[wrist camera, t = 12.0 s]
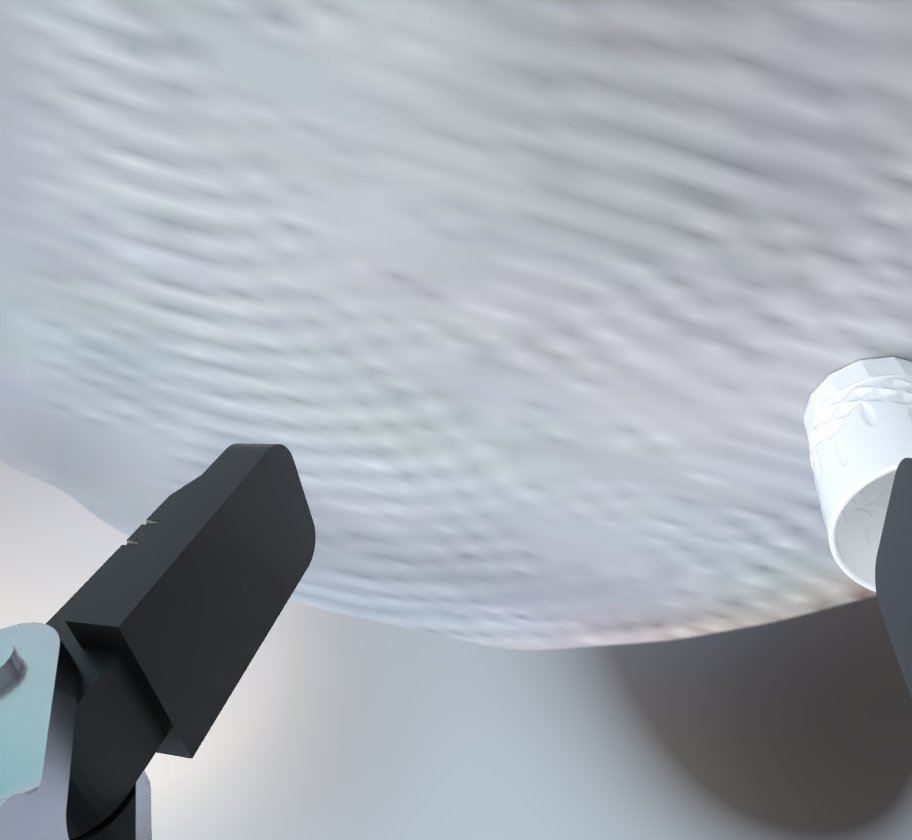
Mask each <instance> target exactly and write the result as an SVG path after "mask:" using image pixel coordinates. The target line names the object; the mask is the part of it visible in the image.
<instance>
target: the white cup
mask: <svg viewBox="0 0 912 840" xmlns="http://www.w3.org/2000/svg"><path fill="white" fill-rule="evenodd" d="M804 424H805V428H806V431H807V435H808V439H809V445H810V459H811V465H812V471H813V475H814V480H815V486H816V491H817V495H818V499H819V503H820V507H821V511H822V515H823V519H824V523H825V528H826V532H827V536H828V540H829V545H830V549H831V552H832V555H833V557H834V559H835V561H836V562H837V564H838V565H839V567H840V568H841V569H842V570H843V571H844V572H845V573H846V574H847V575H848V576H849V577H850V578H851V579H853V580H854V581H855V582H857V583H858V584H860V585H862V586H863V587H865V588H867V589H869V590H872V591H874V592H876V585H875V565H876V557H877V552H878V548H879V543H880V539H881V534H882V530H883V526H884V521H885V517H886V512H887V508H888V504H889V499H890V495H891V490H892V486H893V481H894V477H895V473H896V470H897V467H898V465H899V463H900V462H901V461H902V460H903V459H904V458H912V362H910V361H907V360H903V359H900V358H896V357H886V358H876V359H866V360H859V361H857V362H855V363H853V364H850V365H848V366H846V367H844V368H842V369H840V370H838V371H835V372H833V373H831V374H830V375H829V376H828V377H827V378H826V379H825V380H824V381H823V382H822V383H821V384H820V385H819V386H818V388H817V389H816V390H815V391H814V392H813V393H812V394H811V395H810V398H809V402H808V405H807V408H806V412H805V415H804Z"/></svg>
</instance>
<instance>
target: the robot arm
mask: <svg viewBox="0 0 912 840" xmlns="http://www.w3.org/2000/svg"><path fill="white" fill-rule="evenodd" d="M314 548H315V527H314V523H313V520H312V516H311V513H310V510H309V507H308V504H307V501H306V498H305V494H304V491H303V488H302V485H301V482H300V479H299V476H298V472H297V469H296V466H295V463H294V460H293V457H292V455H291V453H290V451H289V450H288V449H287V448H286V447H285V446H284V445H281V444H237V443H236V444H233V445H231V446H229V447H228V448H227V449H226V450H225V451H224V452H223V453H222V454H221V455H220V456H219V457H218V458H217V459H216V460H215V461H214V463H213V464H212V465H211V466H210V467H209V468H208V469H207V470H206V471H205V472H204V473H203V474H202V475H201V476H199V477H198V478H196V479H195V480H193V481H192V482H190V483H188V484H187V485H185V486H184V487H182V488H181V489H179V490H178V491H176V492H175V493H173V494H171V495H170V496H169V497H168V498H167V499H166V500H165V501H164V502H163V503H162V504H161V505H160V506H159V507H158V508H157V509H156V510H155V511H154V512H153V513H152V515H151V516H150V517H149V518H148V519H147V523H146V525H141V526H140V527H139V528H138V529H137V530H136V531H135V532H134V533H133V534H132V535H131V536H130V537H129V538H128V539H127V545H122V546H121V547H120V548H119V549H118V550H117V551H116V552H115V553H114V554H113V555H112V556H111V557H110V558H109V559H108V560H107V561H106V562H105V563H104V564H103V565H102V566H101V567H100V569H98V570H97V572H96V573H95V574H94V575H93V576H92V577H91V578H90V579H89V580H88V581H87V582H86V583H85V584H84V585H83V586H82V587H81V588H80V589H79V590H78V591H77V593H75V594H74V595H73V597H72V598H71V599H70V600H69V601H68V602H67V603H66V604H65V605H64V606H63V607H62V608H61V609H60V610H59V611H58V612H57V613H56V614H55V615H54V616H53V617H52V618H51V619H50V620H49V621H48V622H47V623H46V624H42V623H23V624H18V625H13V626H10V627H7V628H3V629H1V630H0V840H152V833H151V832H152V831H151V787H150V781H149V779H148V776H147V775H146V773H145V771H144V769H145V768H146V766H147V765H148V763H149V762H150V760H151V759H152V757H153V756H154V754H155V753H156V752H157V753H163V754H169V755H175V756H181V757H186V758H193V756H194V755H195V753H196V751H197V750H198V748H199V746H200V745H201V742H202V741H203V740H204V738H205V736H206V735H207V733H208V731H209V730H210V728H211V726H212V725H213V723H214V722H215V720H216V718H217V717H218V715H219V713H220V712H221V710H222V708H223V707H224V705H225V703H226V702H227V700H228V698H229V696H230V695H231V693H232V692H233V690H234V688H235V687H236V685H237V683H238V682H239V680H240V679H241V677H242V675H243V673H244V672H245V670H246V669H247V667H248V665H249V663H250V662H251V660H252V659H253V657H254V655H255V654H256V652H257V650H258V649H259V647H260V645H261V644H262V642H263V641H264V639H265V637H266V636H267V634H268V632H269V631H270V629H271V627H272V626H273V624H274V622H275V621H276V619H277V617H278V616H279V614H280V613H281V611H282V609H283V608H284V606H285V604H286V603H287V601H288V599H289V598H290V596H291V594H292V593H293V591H294V589H295V588H296V586H297V584H298V583H299V581H300V580H301V578H302V576H303V575H304V573H305V571H306V570H307V568H308V566H309V564H310V562H311V559H312V556H313V553H314ZM875 585H876V594H877V600H878V605H879V608H880V612H881V615H882V617H883V620H884V623H885V626H886V628H887V631H888V634H889V637H890V640H891V642H892V645H893V648H894V651H895V653H896V656H897V659H898V662H899V665H900V667H901V670H902V673H903V676H904V678H905V681H906V684H907V687H908V690H909V693H910V695H911V698H912V458H904V459H903V460H902V461H901V462H900V463H899V465H898V467H897V470H896V473H895V477H894V481H893V486H892V490H891V495H890V499H889V504H888V508H887V512H886V517H885V521H884V526H883V530H882V534H881V539H880V543H879V548H878V552H877V557H876V565H875Z"/></svg>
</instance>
